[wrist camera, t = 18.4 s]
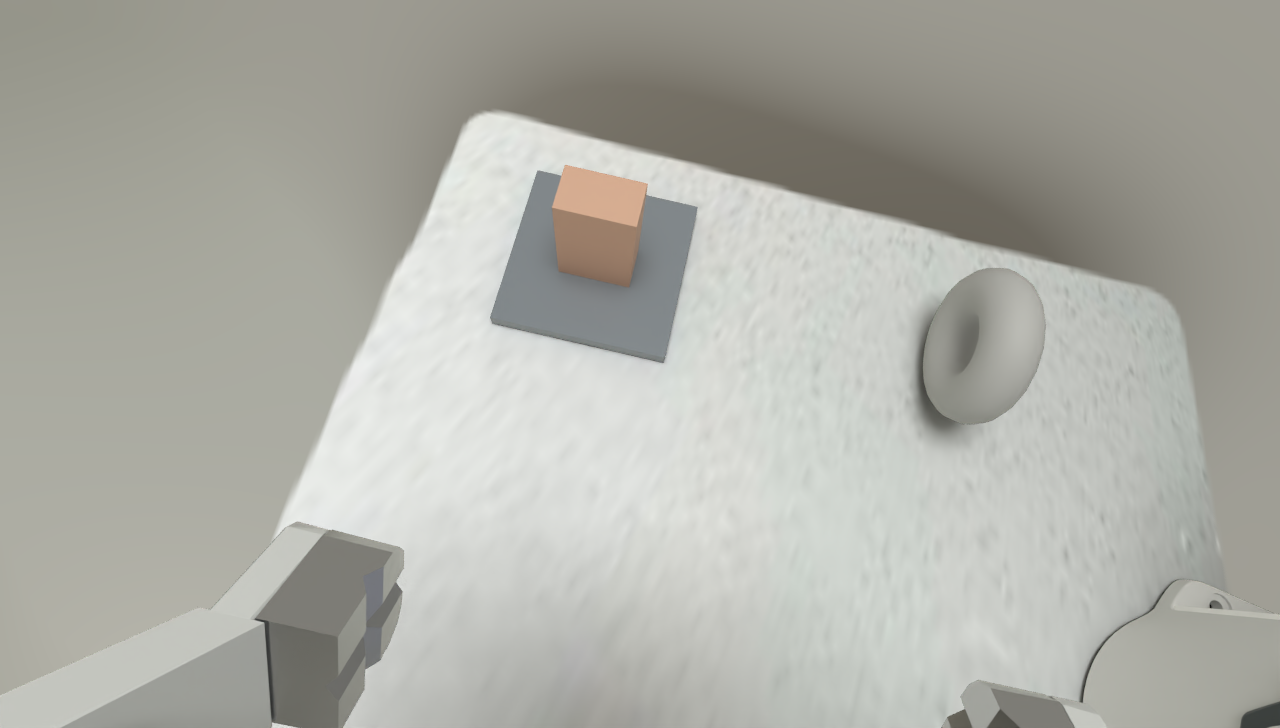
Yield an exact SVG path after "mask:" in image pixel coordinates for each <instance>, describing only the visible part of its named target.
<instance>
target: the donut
mask: <svg viewBox="0 0 1280 728" xmlns="http://www.w3.org/2000/svg"><path fill="white" fill-rule="evenodd" d="M1045 330H1046V322H1045V316H1044V309H1043V304H1042V302H1041V299H1040V297H1039V295H1038V294H1037V292H1036V290H1035V288H1034V286H1033V284H1031V283H1030V282H1029V281H1028V280H1027V279H1026V278H1024V277H1023V276H1021V275H1020V274H1018V273H1017V272H1015V271H1012V270H1010V269H1004V268H986V269H982V270H978V271H976V272H974V273H973V274H971V275H969V276H967V277H965V278H964V279H962V280H961V281H959V282H958V283H957V284H956V285H955V286H954V287H953V288H952V289H951V290H950V292H949V293H948V294H947V295H946V297H945V299H944V300H943V302H942V303H941V305H940V306H939V308H938V310H937V312H936V314H935V316H934V319H933V321H932V323H931V325H930V328H929V332H928V335H927V339H926V343H925V349H924V356H923V380H924V384H925V388H926V392H927V395H928V397H929V399H930V400H931V402H932V403H933V405H934V406H935V408H936V409H937V411H938V412H940V413H941V414H942V415H943V416H945V417H947V418H949V419H951V420H954V421H956V422H958V423H961V424H978V423H985V422H989V421H992V420H994V419H996V418H997V417H999V416H1000V415H1002V414H1003V413H1005V412H1007V411H1008V410H1009V409H1011V408H1012V407H1013V406H1014V405H1015V403H1016V402H1017V401H1018V400H1019V399H1020V398H1021V397H1022V395H1023V394H1024V393H1025V392H1026V390H1027V388H1028V386H1029V385H1030V383H1031V381H1032V379H1033V377H1034V375H1035V373H1036V372H1037V369H1038V365H1039V362H1040V359H1041V355H1042V352H1043V349H1044V340H1045Z"/></svg>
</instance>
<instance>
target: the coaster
mask: <svg viewBox="0 0 1280 728" xmlns="http://www.w3.org/2000/svg"><path fill="white" fill-rule="evenodd" d="M560 180H561V176H560V175H556V174H551V173H547V172H543V171H537V174H536V177H535V180H534V183H533V186H532V189H531V193H530V196H529V199H528V202H527V205H526V208H525V211H524V214H523V217H522V220H521V223H520V227H519V230H518V233H517V236H516V239H515V242H514V245H513V248H512V251H511V254H510V258H509V261H508V264H507V267H506V270H505V273H504V276H503V279H502V282H501V285H500V288H499V292H498V295H497V298H496V301H495V304H494V307H493V310H492V313H491V316H490V319H491V321H492V323H494V324H498V325H502V326H507V327H511V328H515V329H520V330H524V331H528V332H533V333H537V334H541V335H546V336H550V337H554V338H559V339H563V340H567V341H572V342H576V343H580V344H585V345H589V346H594V347H598V348H602V349H607V350H611V351H615V352H620V353H624V354H628V355H633V356H637V357H641V358H646V359H650V360H654V361H659V362H664V359H665V355H666V351H667V346H668V341H669V337H670V332H671V328H672V323H673V318H674V314H675V309H676V305H677V300H678V295H679V291H680V286H681V282H682V277H683V272H684V268H685V263H686V259H687V254H688V249H689V245H690V240H691V236H692V231H693V227H694V222H695V217H696V213H697V208H698V207H695V206H691V205H686V204H682V203H678V202H673V201H669V200H665V199H660V198H656V197H652V196H647V195H646V199H645V207H644V214H643V221H642V228H641V235H640V242H639V249H638V254H637V258H636V262H635V266H634V270H633V274H632V278H631V282H630V286H629V287H624V286H620V285H616V284H611V283H607V282H603V281H598V280H594V279H590V278H585V277H581V276H576V275H572V274H568V273H563V272H559V270H558V261H557V251H556V242H555V232H554V223H553V213H552V206H553V202H554V199H555V196H556V193H557V189H558V186H559V183H560Z"/></svg>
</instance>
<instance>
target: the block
mask: <svg viewBox="0 0 1280 728" xmlns="http://www.w3.org/2000/svg"><path fill="white" fill-rule="evenodd" d="M647 185H648V184H646V183H642V182H638V181H633V180H629V179H625V178H620V177H616V176H612V175H607V174H603V173H599V172H594V171H590V170H586V169H581V168H577V167H572V166H568V165H565V167H564V170H563V173H562V176H561V180H560V183H559V186H558V189H557V193H556V196H555V199H554V202H553V206H552V213H553V223H554V232H555V242H556V251H557V261H558V270H559V272H563V273H568V274H572V275H576V276H581V277H585V278H590V279H594V280H598V281H603V282H607V283H611V284H616V285H620V286H624V287H629V286H630V282H631V278H632V274H633V270H634V266H635V262H636V258H637V254H638V249H639V242H640V235H641V228H642V221H643V214H644V207H645V199H646V192H647Z"/></svg>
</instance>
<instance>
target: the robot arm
mask: <svg viewBox="0 0 1280 728" xmlns="http://www.w3.org/2000/svg"><path fill="white" fill-rule="evenodd" d="M403 569H404V550H403V549H401V548H400V547H397V546H393V545H389V544H385V543H381V542H377V541H374V540H370V539H366V538H362V537H358V536H354V535H350V534H346V533H343V532H339V531H335V530H328V529H324V528H320V527H316V526H313V525H309V524H305V523H301V522H295V523H293V524H291V525H289V526H287V527H286V528H284V530H283V531H282V532H281V533H280V534H279V535H278V536H277V537H276V538H275V539H274V540H273V541H272V543H271V544H270V545H269V546H268V547H267V548H266V549H265V550H264V551H263V552H262V553H261V555H260V556H259V557H258V558H257V559H256V560H255V561H254V562H253V563H252V564H251V566H249V568H248V569H247V570H246V571H245V572H244V573H243V574H242V575H241V577H239V578H238V580H237V581H236V582H235V583H234V584H233V585H232V586H231V587H230V588H229V589H228V590H227V591H226V593H225V594H224V595H223V596H222V597H221V598H220V599H219V600H218V601H217V602H216V604H215V605H214V606H213V607H212V608H211V609H204V608H200V607H198V608H196V609H193V610H191V611H189V612H187V613H184V614H182V615H180V616H178V617H175V618H173V619H171V620H169V621H166V622H164V623H162V624H160V625H157V626H155V627H153V628H150V629H148V630H146V631H144V632H141V633H139V634H137V635H135V636H133V637H130V638H128V639H126V640H124V641H121V642H119V643H117V644H114V645H112V646H110V647H108V648H105V649H103V650H101V651H99V652H97V653H94V654H92V655H90V656H87V657H85V658H83V659H81V660H78V661H76V662H74V663H72V664H69V665H67V666H65V667H63V668H60V669H58V670H56V671H54V672H51V673H49V674H47V675H45V676H42V677H40V678H38V679H35V680H33V681H31V682H29V683H26V684H24V685H22V686H20V687H18V688H15V689H13V690H11V691H8V692H6V693H4V694H2V695H0V728H271V727H272V722H273V723H278V724H283V725H288V726H293V727H298V728H343V726H344V725H345V723H346V721H347V719H348V718H349V716H350V714H351V712H352V710H353V709H354V707H355V705H356V703H357V701H358V700H359V698H360V696H361V694H362V692H363V691H364V683H365V669H367V668H368V667H370V666H372V665H373V664H375V663H377V662H378V661H380V660H381V658H382V656H383V654H384V652H385V650H386V649H387V647H388V645H389V643H390V641H391V638H392V635H393V633H394V630H395V627H396V625H397V622H398V618H399V614H400V609H401V604H402V590H401V589H400V587H399V586H398V585H397V583H396V580H397V579H398V577H399V575H400V574H401V572H402V570H403ZM1209 604H1211V606H1212V608H1210V607H1209ZM960 697H961V700H962V703H963V706H964V710H962V711H959V712H957V713H955V714H953V715H951V716H949V717H947V718H946V720H945V722H944V724H943V725H942V727H941V728H1280V614H1274V613H1272V612H1270V611H1268V610H1265V609H1263V608H1261V607H1258V606H1256V605H1254V604H1252V603H1249V602H1247V601H1245V600H1242V599H1240V598H1238V597H1235V596H1233V595H1231V594H1228V593H1226V592H1224V591H1222V590H1219V589H1217V588H1215V587H1212V586H1210V585H1208V584H1205V583H1203V582H1200V581H1193V580H1185V579H1180V580H1177V581H1175V582H1173V583H1172V584H1171V585H1170V586H1169V587H1168V588H1167V590H1166V591H1165V592H1164V594H1163V595H1162V597H1161V598H1160V600H1159V602H1158V603H1157V605H1156V606H1155V608H1154V609H1153V610H1152V611H1150V612H1149V613H1148V614H1146V615H1144V616H1142V617H1140V618H1138V619H1136V620H1134V621H1132V622H1130V623H1128V624H1127V625H1125V626H1123V627H1122V628H1121V629H1119V630H1118V631H1117V632H1115V633H1114V634H1113V635H1112V636H1111V637H1110V638H1109V639H1108V640H1107V641H1106V643H1105V644H1104V645H1103V646H1102V648H1101V649H1100V651H1099V652H1098V654H1097V656H1096V657H1095V660H1094V662H1093V664H1092V666H1091V669H1090V671H1089V674H1088V677H1087V681H1086V685H1085V690H1084V696H1083V703H1081V702H1076V701H1072V700H1067V699H1063V698H1058V697H1054V696H1047V695H1044V694H1041V693H1036V692H1031V691H1027V690H1022V689H1018V688H1013V687H1009V686H1004V685H1000V684H995V683H990V682H986V681H981V680H977V681H975V682H973V683H971V684H969V685H968V686H967V688H966V689H965V691H964V692H963V694H962V695H961V696H960Z"/></svg>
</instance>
